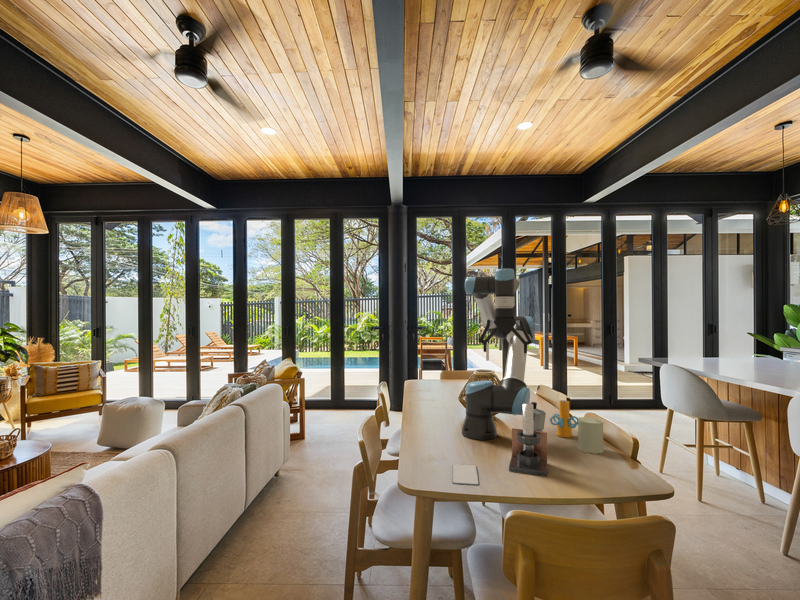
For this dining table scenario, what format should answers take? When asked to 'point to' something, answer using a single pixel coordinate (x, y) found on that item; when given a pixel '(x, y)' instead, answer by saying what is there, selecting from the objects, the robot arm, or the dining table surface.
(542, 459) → the collar stand
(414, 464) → the dining table surface
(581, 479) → the dining table surface
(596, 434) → the can
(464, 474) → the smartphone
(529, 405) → the silver metal tube
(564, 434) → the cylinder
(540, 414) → the coffee maker
